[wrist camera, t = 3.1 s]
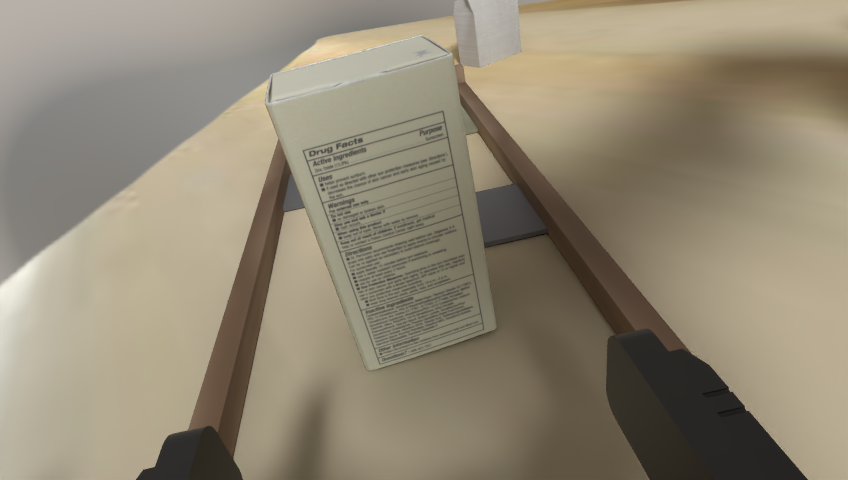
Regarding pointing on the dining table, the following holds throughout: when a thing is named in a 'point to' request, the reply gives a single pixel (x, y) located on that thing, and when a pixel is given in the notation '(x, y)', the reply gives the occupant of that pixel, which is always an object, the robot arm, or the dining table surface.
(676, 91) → the dining table surface
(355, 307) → the skincare box
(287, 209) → the pads
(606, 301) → the frame
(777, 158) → the dining table surface
